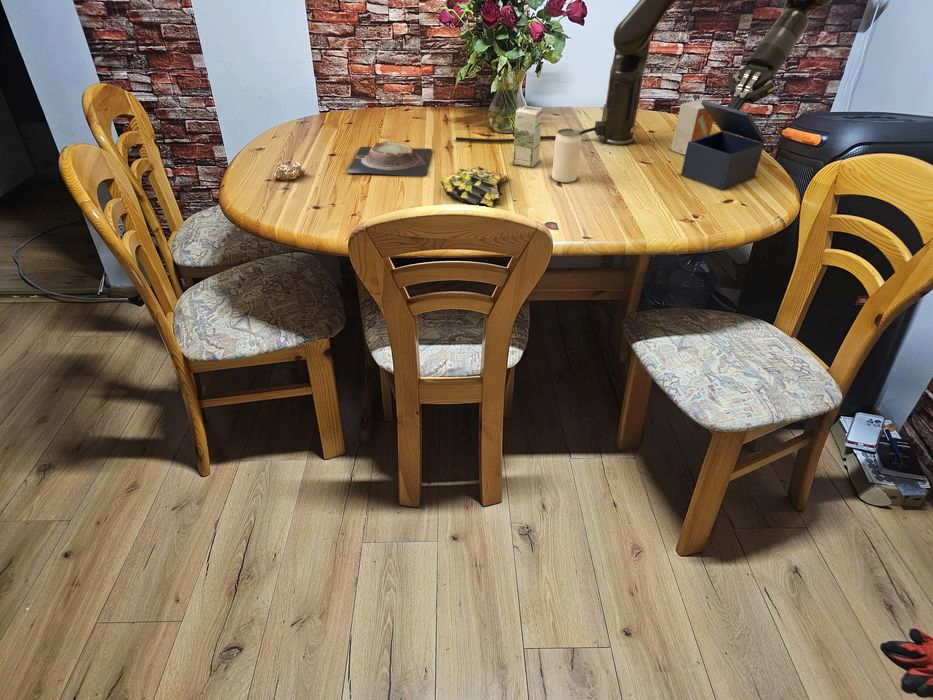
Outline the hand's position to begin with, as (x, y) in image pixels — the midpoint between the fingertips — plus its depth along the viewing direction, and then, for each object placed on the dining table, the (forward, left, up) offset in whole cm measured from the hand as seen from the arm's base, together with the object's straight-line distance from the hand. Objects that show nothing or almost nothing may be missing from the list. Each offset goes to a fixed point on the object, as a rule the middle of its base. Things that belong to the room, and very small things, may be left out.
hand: (730, 112), depth 153 cm
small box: (-1, +20, -17) cm, 26 cm away
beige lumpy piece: (-111, -1, -17) cm, 112 cm away
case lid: (+2, +2, -3) cm, 4 cm away
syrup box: (-49, +10, -17) cm, 52 cm away
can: (-40, -1, -17) cm, 43 cm away
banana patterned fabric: (-62, -8, -17) cm, 64 cm away
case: (+1, +1, -16) cm, 17 cm away
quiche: (-86, +11, -17) cm, 88 cm away
